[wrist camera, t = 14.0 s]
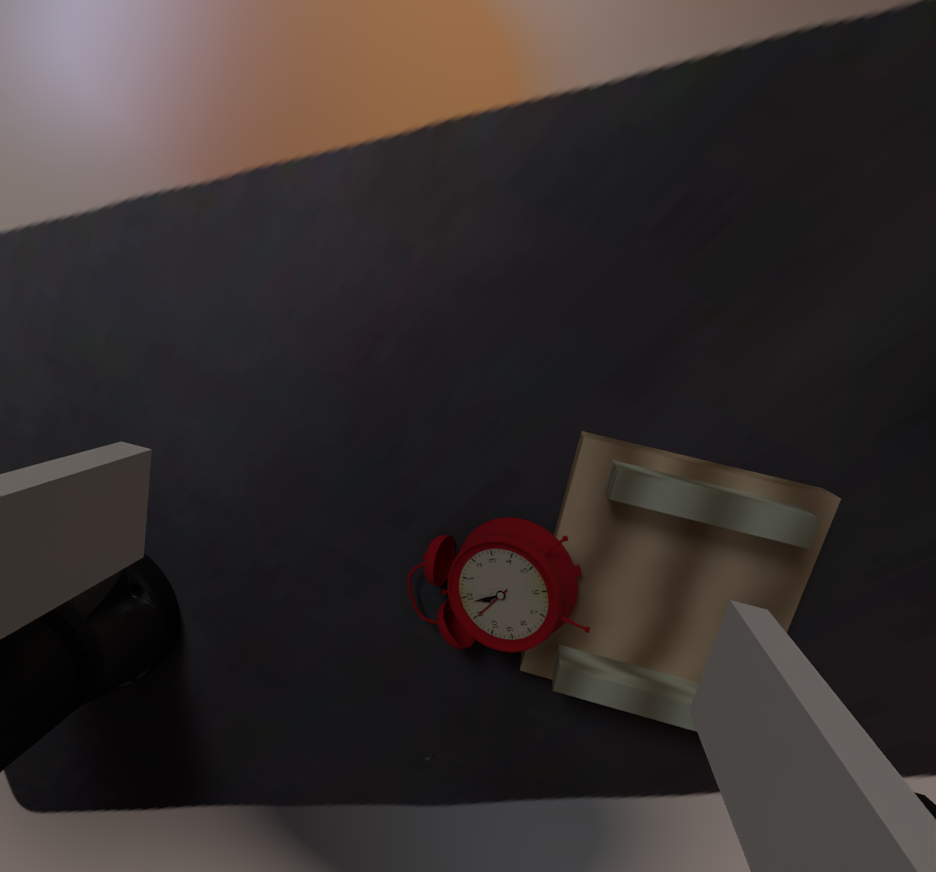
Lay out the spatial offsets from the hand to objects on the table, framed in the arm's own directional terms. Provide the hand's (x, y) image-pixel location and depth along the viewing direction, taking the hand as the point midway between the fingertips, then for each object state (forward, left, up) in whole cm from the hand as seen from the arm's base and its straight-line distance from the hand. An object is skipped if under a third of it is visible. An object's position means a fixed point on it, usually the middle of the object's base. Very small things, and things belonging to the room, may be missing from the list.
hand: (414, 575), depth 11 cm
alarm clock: (+9, -12, -28) cm, 32 cm away
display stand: (+16, -12, -32) cm, 37 cm away
